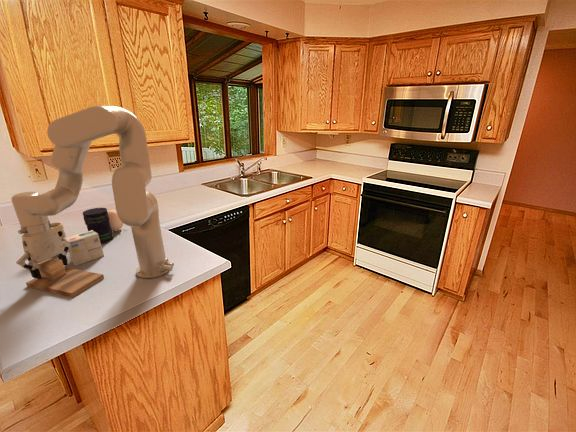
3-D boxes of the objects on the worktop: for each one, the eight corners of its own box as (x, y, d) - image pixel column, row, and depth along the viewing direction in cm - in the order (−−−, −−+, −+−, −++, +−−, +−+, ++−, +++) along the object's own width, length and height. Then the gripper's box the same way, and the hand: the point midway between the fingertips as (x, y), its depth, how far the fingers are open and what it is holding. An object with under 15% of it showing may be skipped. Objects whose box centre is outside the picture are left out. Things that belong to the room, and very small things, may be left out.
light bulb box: (98, 251, 127) (92, 229, 124) (104, 256, 123) (98, 233, 120) (70, 261, 120) (63, 237, 116) (75, 266, 116) (68, 241, 112)
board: (104, 278, 107) (103, 274, 106) (73, 297, 96) (72, 293, 96) (60, 269, 113) (59, 266, 113) (27, 286, 102) (25, 282, 102)
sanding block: (66, 274, 107) (61, 259, 105) (54, 280, 103) (49, 266, 101) (52, 271, 109) (48, 257, 107) (40, 277, 105) (34, 263, 103)
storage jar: (94, 246, 132) (85, 216, 127) (87, 240, 138) (79, 211, 133) (117, 239, 139) (110, 210, 134) (110, 234, 145) (103, 206, 140)
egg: (123, 232, 147) (118, 211, 143) (105, 234, 145) (100, 213, 141) (126, 227, 154) (121, 206, 150) (109, 229, 152) (104, 208, 148)
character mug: (62, 257, 123) (53, 229, 118) (44, 259, 122) (34, 230, 117) (75, 246, 133) (68, 220, 128) (58, 247, 132) (50, 221, 127)
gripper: (15, 239, 90) (33, 286, 96) (69, 220, 106) (81, 261, 112) (-1, 236, 92) (17, 282, 98) (54, 218, 108) (67, 258, 114)
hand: (51, 271), depth 105 cm, fingers open, 9 cm apart
